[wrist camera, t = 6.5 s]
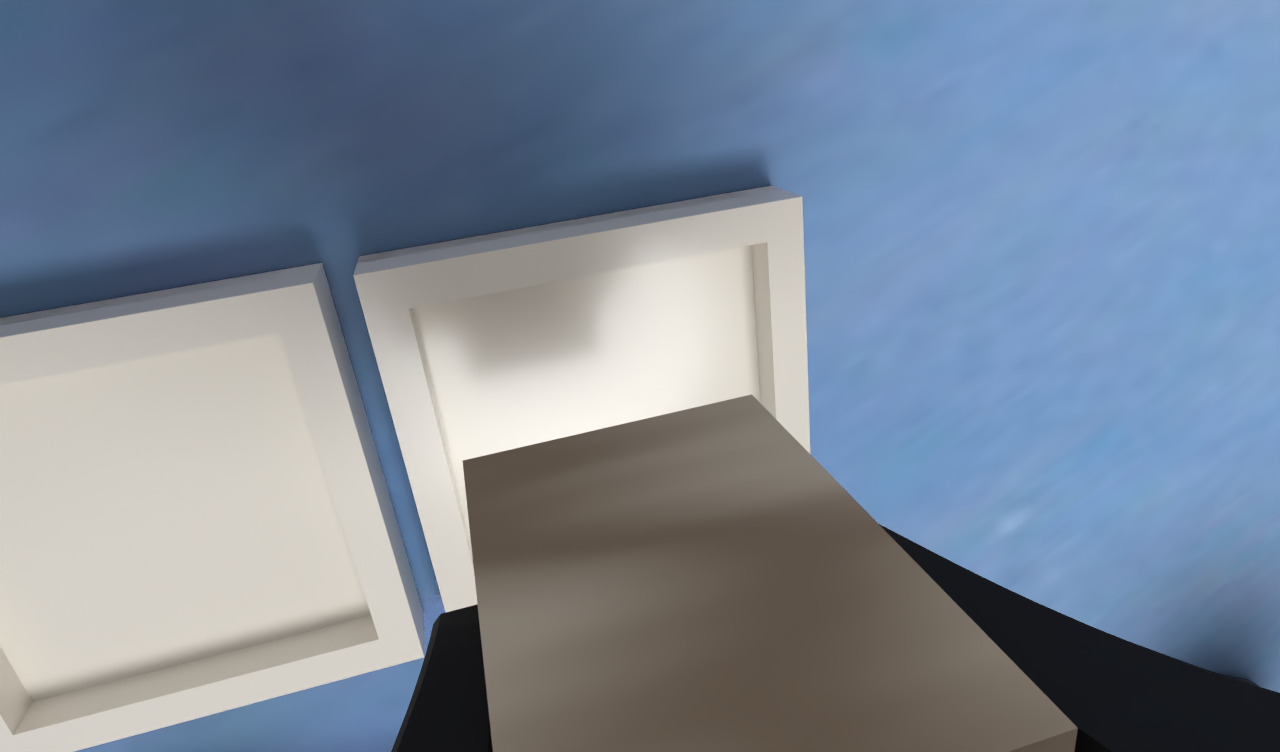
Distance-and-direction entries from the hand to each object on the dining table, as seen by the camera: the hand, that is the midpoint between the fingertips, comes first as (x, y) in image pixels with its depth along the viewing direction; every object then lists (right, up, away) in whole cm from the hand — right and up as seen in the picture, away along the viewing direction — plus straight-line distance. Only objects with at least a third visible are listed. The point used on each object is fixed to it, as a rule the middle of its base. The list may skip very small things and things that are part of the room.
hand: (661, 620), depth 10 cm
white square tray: (-10, 0, +6) cm, 12 cm away
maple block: (0, +1, +1) cm, 2 cm away
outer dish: (-1, +2, +8) cm, 9 cm away
